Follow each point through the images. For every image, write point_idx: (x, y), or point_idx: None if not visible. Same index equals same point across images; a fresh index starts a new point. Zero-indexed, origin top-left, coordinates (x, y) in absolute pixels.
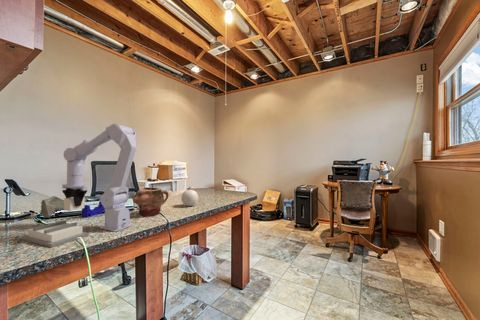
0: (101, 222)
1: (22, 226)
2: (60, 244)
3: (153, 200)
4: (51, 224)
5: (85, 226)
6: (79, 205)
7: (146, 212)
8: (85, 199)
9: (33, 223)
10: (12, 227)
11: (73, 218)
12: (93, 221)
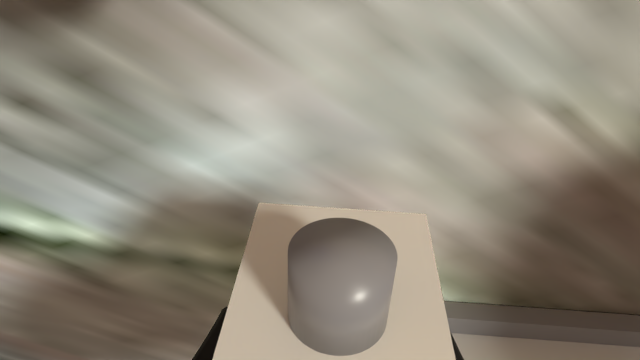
0: (631, 12)
1: (48, 327)
2: None
3: None
4: None
5: (545, 188)
6: None
7: None
8: (390, 286)
9: (5, 269)
10: (26, 352)
11: (88, 24)
12: (478, 21)
